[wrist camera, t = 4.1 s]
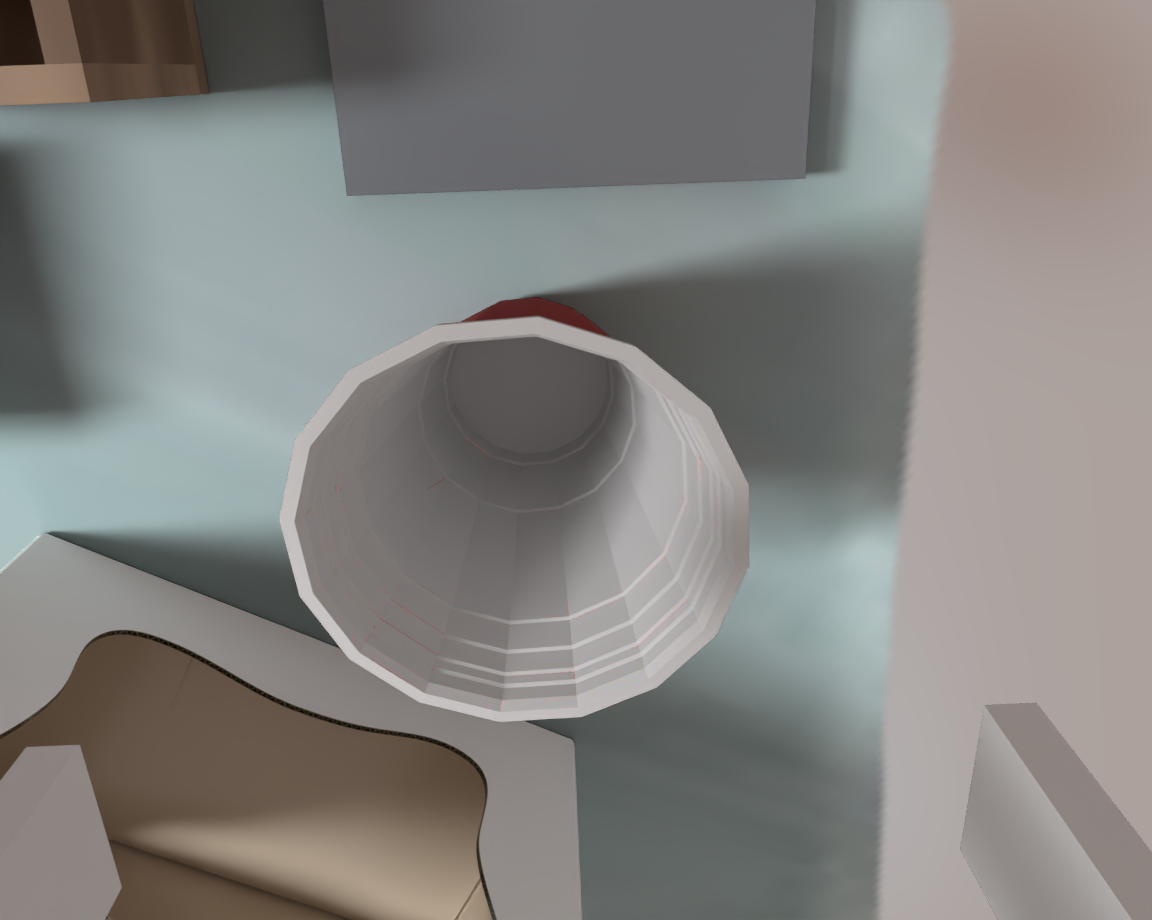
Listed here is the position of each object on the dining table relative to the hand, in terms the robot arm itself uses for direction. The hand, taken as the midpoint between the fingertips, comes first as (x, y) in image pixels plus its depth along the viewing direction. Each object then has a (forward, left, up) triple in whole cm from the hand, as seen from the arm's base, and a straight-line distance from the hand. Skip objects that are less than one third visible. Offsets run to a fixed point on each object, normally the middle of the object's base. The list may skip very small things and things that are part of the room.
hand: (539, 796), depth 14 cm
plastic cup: (-1, 0, -20) cm, 20 cm away
